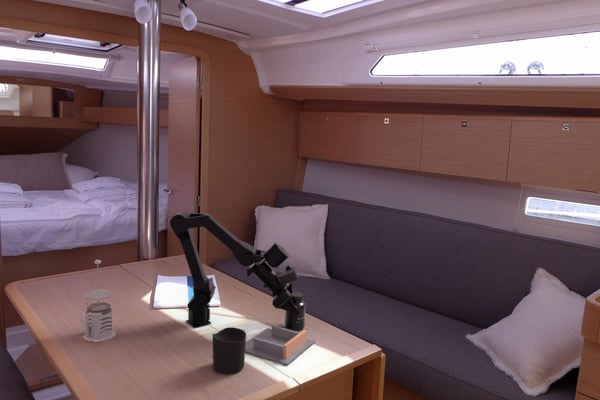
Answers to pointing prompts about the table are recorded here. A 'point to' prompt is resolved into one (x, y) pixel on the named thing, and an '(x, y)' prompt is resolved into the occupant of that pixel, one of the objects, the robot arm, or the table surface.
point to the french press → (94, 329)
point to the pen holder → (229, 350)
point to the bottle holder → (279, 345)
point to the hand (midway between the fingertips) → (298, 308)
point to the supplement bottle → (294, 320)
